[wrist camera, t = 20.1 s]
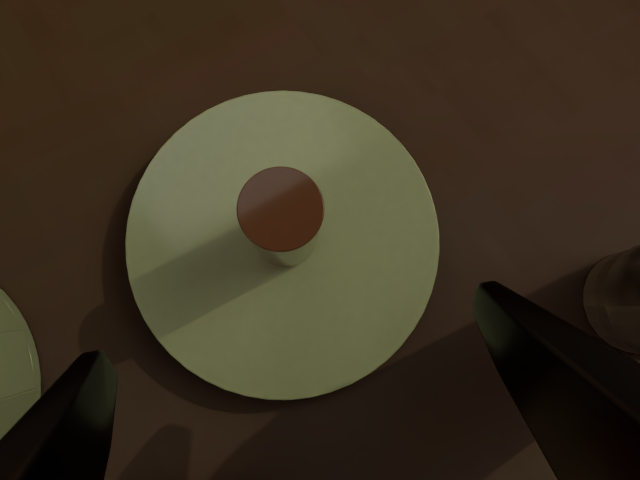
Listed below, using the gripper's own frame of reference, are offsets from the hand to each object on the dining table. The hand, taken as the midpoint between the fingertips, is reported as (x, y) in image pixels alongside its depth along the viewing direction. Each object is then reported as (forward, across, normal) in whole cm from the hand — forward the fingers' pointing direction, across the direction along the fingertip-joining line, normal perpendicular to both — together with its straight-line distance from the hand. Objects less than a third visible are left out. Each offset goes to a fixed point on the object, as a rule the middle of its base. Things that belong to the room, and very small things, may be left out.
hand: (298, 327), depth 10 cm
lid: (+8, 0, +3) cm, 8 cm away
